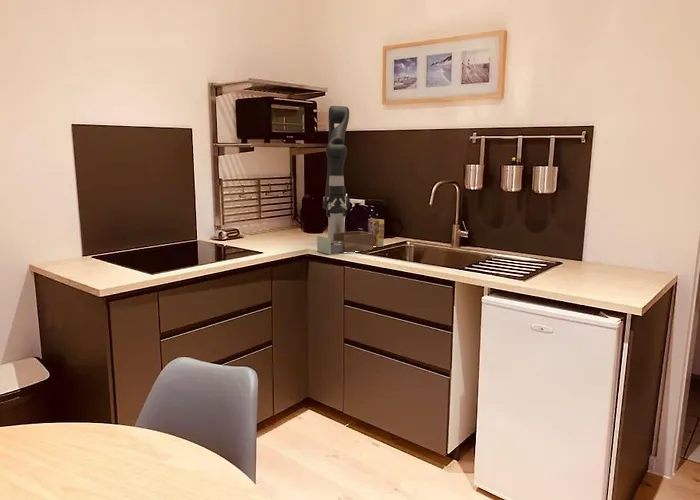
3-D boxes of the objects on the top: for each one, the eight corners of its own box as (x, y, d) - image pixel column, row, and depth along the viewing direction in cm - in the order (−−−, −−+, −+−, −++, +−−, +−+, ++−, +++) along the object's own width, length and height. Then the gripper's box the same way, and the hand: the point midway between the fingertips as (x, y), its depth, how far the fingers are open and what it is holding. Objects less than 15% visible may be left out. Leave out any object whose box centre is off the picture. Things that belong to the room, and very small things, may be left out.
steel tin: (331, 249, 276) (331, 241, 275) (340, 248, 278) (340, 240, 278) (336, 250, 271) (336, 242, 270) (345, 249, 274) (345, 241, 273)
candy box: (384, 247, 288) (384, 219, 286) (378, 248, 286) (378, 220, 283) (373, 245, 295) (373, 218, 293) (367, 246, 292) (367, 218, 290)
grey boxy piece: (317, 250, 276) (317, 235, 274) (344, 248, 284) (344, 233, 283) (329, 254, 265) (329, 238, 263) (357, 251, 273) (357, 236, 272)
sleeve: (333, 250, 280) (333, 233, 278) (360, 247, 289) (360, 230, 287) (344, 253, 270) (344, 235, 269) (372, 250, 279) (372, 233, 277)
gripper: (346, 184, 275) (346, 215, 277) (320, 184, 269) (320, 216, 271) (352, 184, 268) (352, 217, 271) (326, 185, 262) (326, 218, 265)
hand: (336, 216), depth 271 cm, fingers open, 8 cm apart
